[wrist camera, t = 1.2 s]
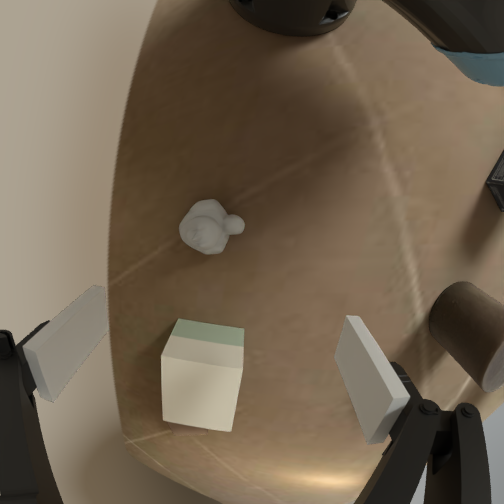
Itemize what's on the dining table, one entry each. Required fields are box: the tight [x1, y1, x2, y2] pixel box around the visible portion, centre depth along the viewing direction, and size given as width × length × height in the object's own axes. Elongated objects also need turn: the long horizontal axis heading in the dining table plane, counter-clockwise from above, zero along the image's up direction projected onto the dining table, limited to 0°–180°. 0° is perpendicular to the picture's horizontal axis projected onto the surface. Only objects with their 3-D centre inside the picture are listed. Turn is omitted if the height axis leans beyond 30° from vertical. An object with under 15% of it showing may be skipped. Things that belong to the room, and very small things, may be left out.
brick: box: [162, 411, 208, 435], centre depth 36 cm, size 5×5×4 cm
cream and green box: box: [161, 318, 244, 432], centre depth 31 cm, size 10×8×8 cm
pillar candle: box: [429, 282, 504, 392], centre depth 27 cm, size 10×10×15 cm
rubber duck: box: [179, 199, 245, 254], centre depth 27 cm, size 5×7×8 cm
